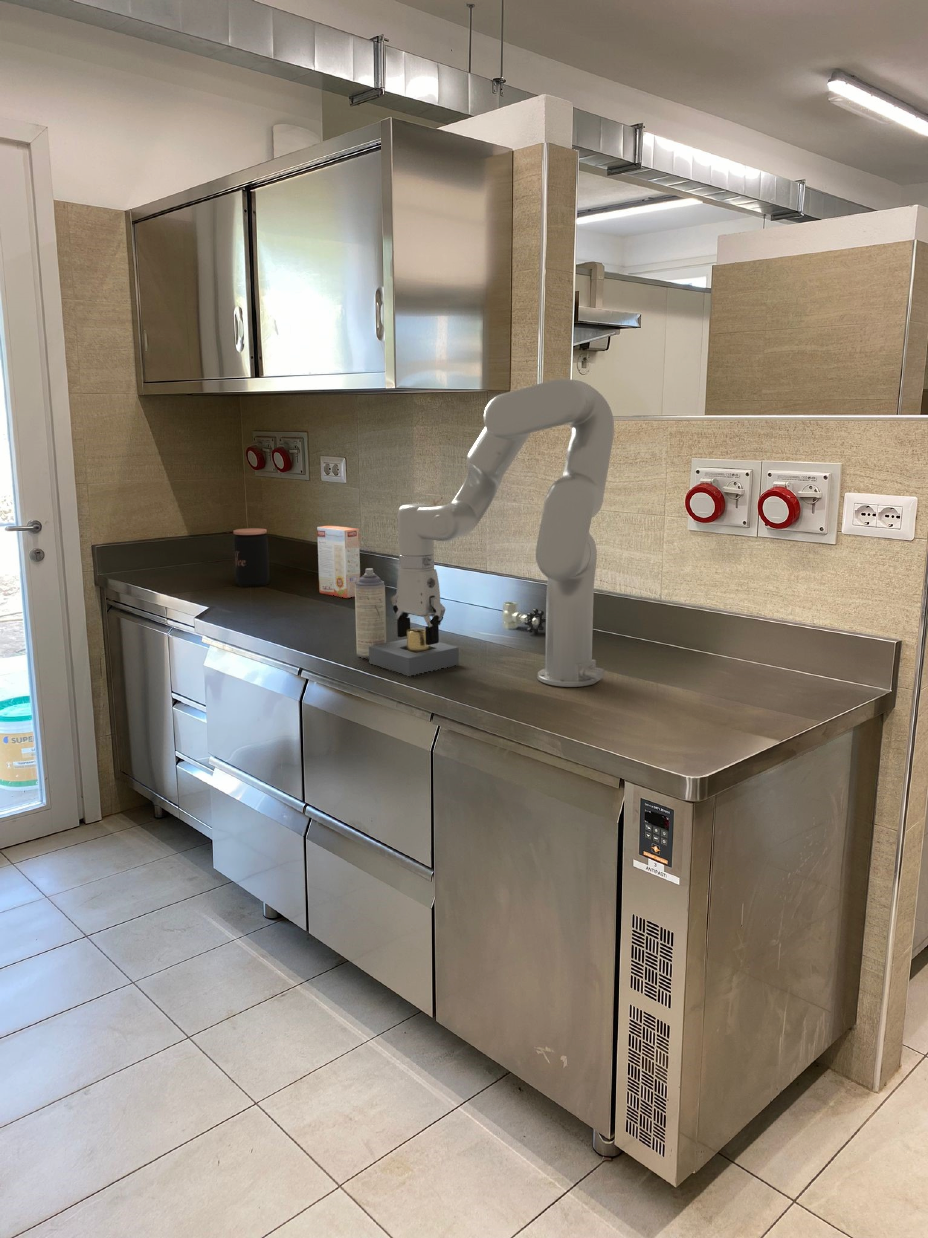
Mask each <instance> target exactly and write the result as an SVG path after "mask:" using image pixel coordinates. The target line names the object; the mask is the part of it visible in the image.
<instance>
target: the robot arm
mask: <svg viewBox="0 0 928 1238" xmlns="http://www.w3.org/2000/svg"><path fill="white" fill-rule="evenodd" d="M483 424H484V426H483V427H484V428H483V429H482V431H481V432H480V434H479V436H478V438H476V440H475V442H474V443H473V445H472V447H471V448H470V450H469V452H468V453H467V456H466V462H467V472H466V473H467V474H466V477H465V479H464V482H463V484H462V486H461V487H460V489H459V491H458V492H457V494H456V495H455V497H454V498H453V500H452V501H451V502H449V503H447V504H443V505H438V506H436V505H435V506H431V505H430V504H426V503H407V504H402V505H401V506H399V508H398V511H397V513H398V514H397V515H398V516H397V517H398V518H397V520H398V521H397V522H398V524H397V525H398V526H397V527H398V529H397V530H398V573H397V577H396V578H397V581H396V594H394V595H392V596H391V597H390V601H391V605H392V610H393V611H394V613H395V619H396V621H397V622H396V627H397V628H396V630H397V632H396V634H397V637H398V638H404V637H407V630H408V629H411V617H409V616H410V615H413V616H417V617H420V618H421V617H423V619H424V621H425V623H426V625H427V626H425V636H426V645H432V644H436V643H438V642H440V640H439V639H440V638H439V636H440V634H439V631H440V629H439V627H440V626H441V624H442V622H443V620H444V615H445V612H446V607H445V606H444V605H443V603H442V602H441V593H440V592H441V591H440V590H441V589H440V583H439V576H438V572H437V569H435V541H437V542H444V543H446V542H451V541H454V540H458V539H460V538H462V537H465V536H467V535H469V534H470V533H472V531H474V530H475V528H476V527H477V526H478V525H479V523H480V521H481V520H482V518H483V516H484V515H485V514H486V513H487V511H488V509H489V507H490V506H491V505H492V502H493V501H494V498H495V496H496V494H497V492H498V490H499V487H500V486H501V483H502V481H503V477H504V476H505V474H506V473H507V471H508V470H509V468H510V466H511V465H512V463H513V461H514V460H515V459H516V457H517V455H518V454H519V452H520V451H521V449H522V448H523V447H524V445H525V443H526V442H527V440H528V438H529V437H530V435H531V434H532V433H536V432H539V431H543V430H544V431H545V430H548V429H553V428H555V427H560V426H566V425H567V426H570V430H571V431H570V432H571V434H570V439H569V442H568V445H567V450H566V454H565V455H566V456H565V457H566V458H565V463H564V468H563V473H562V476H561V477H559V478H558V479H556V481H554V482H553V483H552V484H551V486H550V487H549V489H548V491H547V493H546V495H545V499H544V502H543V508H542V513H541V519H540V523H539V528H538V529H539V530H538V535H537V541H536V548H535V561H536V565H537V568H538V569H539V572H541V573H542V574H543V575H544V577H546V578H547V582H546V596H545V598H546V600H545V601H546V605H545V618H546V622H545V657H544V658H545V667H544V668H543V669H540V670H539V671H538V672H537V680H538V681H540V682H541V683H543V684H546V685H550V686H554V687H563V688H564V687H565V688H577V687H587V686H591V685H594V684H596V683H598V681H600V680H601V679H602V677H603V676H604V675H605V671H606V670H605V669H604V668H600V667H597V665H596V664H597V660H596V659H593V658H592V657H593V629H594V628H593V623H594V594H595V593H594V591H595V590H594V588H595V580H596V579H595V578H596V569H597V561H598V560H597V559H598V556H597V555H598V554H597V552H598V550H597V544H596V542H595V539H594V537H593V535H591V533H590V529H591V524H592V518H594V517H595V516H596V515H598V514H599V512H600V510H601V509H602V506H603V502H604V497H605V489H606V483H607V479H608V473H609V468H610V467H609V466H610V461H611V455H612V454H611V453H612V449H613V444H614V443H613V442H614V437H615V421H614V416H613V412H612V409H611V407H610V405H609V402H608V401H607V399H606V397H604V396H603V395H602V394H601V393H600V392H599V391H598V390H597V389H596V388H594V387H593V386H591V384H588V383H586V382H584V381H582V380H577V379H570V378H556V379H551V380H547V381H544V382H541V383H537V384H535V385H531V386H526V387H523V388H519V389H516V390H512V391H508V392H504V393H500V394H498V395H496V396H493V398H492V399H491V400H489V402H488V403H487V405H486V407H485V408H484V413H483Z"/></svg>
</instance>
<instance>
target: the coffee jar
mask: <svg viewBox="0 0 928 1238" xmlns="http://www.w3.org/2000/svg"><path fill="white" fill-rule="evenodd" d="M267 533H268V530H267V529H266V528H256V527H255V528H254V527H253V528H251V527H249V528H238V529H234V530H233V533H232V534H233V535H234V537H233V551H234V552H233V553H234V564H235V565H234V567H235V568H234V569H235V582H236V584H237V586H238V587H240V586H242V587H241V588H248V587H251V588H262V587H265V586H268V585H269V582H270V566H269V565H270V561H269V543H268V536H267V535H266V534H267ZM267 584H268V585H267ZM261 586H262V587H261Z"/></svg>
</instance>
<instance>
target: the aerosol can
mask: <svg viewBox="0 0 928 1238" xmlns="http://www.w3.org/2000/svg"><path fill="white" fill-rule="evenodd" d="M364 572H365V573H364V574H363V575H362V576H360V579H359V581H357V582H355V584H356V585H355V597H354V603H355V604H354V605H355V608H354V609H355V634H356V636H355V638H356V639H355V641H356V643H355V644H356V657H357V656H359V657H361V658H360V659H363V658H369V646H374V645H378V644H383V643H387V623H386V621H387V620H386V619H387V617H386V615H387V613H386V586H385V581H384V580H381V577H379V576H378V575H377V574H376V573H374V568H371V567H370V568H365V571H364ZM359 657H358V658H359Z"/></svg>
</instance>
